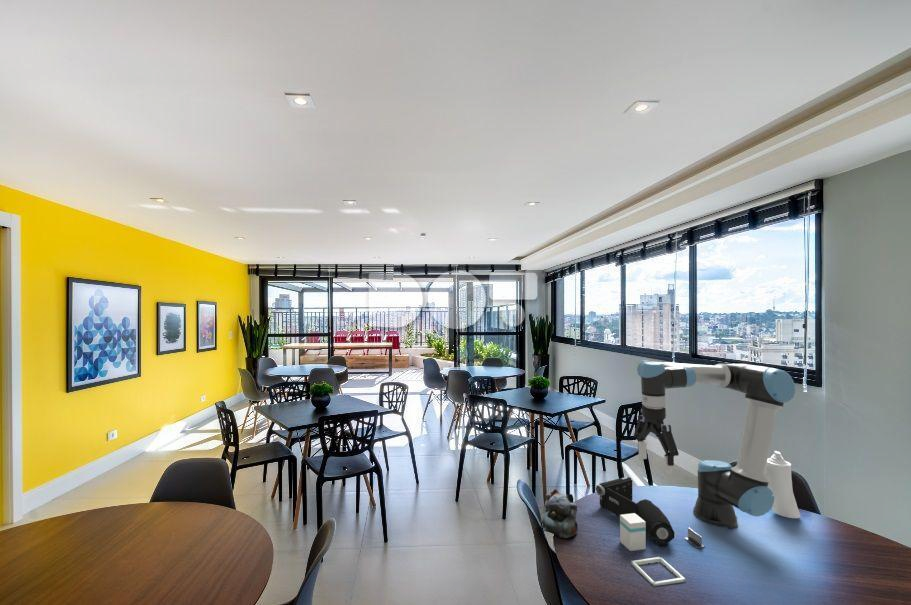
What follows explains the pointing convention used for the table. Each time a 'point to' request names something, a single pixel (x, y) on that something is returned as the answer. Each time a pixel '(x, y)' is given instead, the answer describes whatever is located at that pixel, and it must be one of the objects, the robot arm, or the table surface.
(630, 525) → the block
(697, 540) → the card holder
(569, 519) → the lucky cat figurine
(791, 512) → the white bottle
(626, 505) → the camcorder
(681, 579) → the tray
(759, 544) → the table surface
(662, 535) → the portable speaker
